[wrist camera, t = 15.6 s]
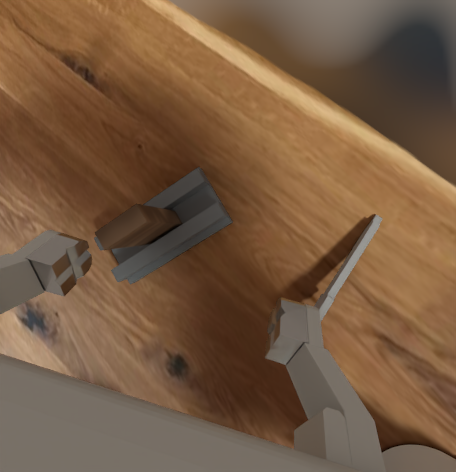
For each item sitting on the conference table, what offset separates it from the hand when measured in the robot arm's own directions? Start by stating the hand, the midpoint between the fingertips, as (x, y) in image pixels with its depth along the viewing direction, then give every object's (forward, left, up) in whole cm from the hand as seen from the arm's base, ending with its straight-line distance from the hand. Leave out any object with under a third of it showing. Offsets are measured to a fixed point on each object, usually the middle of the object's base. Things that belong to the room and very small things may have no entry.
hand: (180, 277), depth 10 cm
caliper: (-11, -9, -29) cm, 32 cm away
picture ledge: (+9, +10, -28) cm, 31 cm away
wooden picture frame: (+9, +11, -27) cm, 30 cm away
